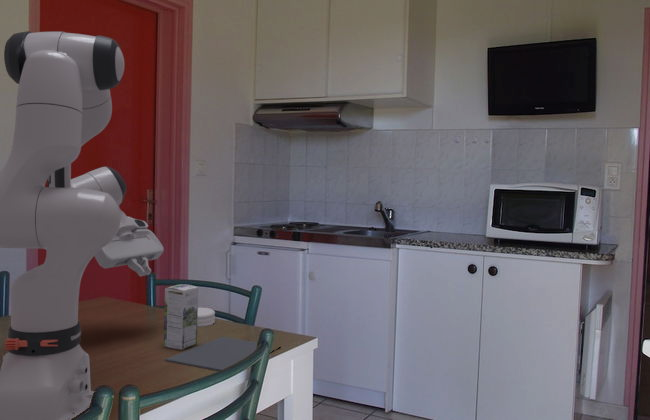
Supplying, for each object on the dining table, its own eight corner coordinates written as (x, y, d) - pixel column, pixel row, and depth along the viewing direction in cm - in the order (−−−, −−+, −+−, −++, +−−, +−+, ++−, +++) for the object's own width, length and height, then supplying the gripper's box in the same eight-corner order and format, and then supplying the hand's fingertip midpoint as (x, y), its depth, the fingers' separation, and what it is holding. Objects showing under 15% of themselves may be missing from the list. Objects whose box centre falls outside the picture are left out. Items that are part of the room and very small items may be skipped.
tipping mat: (165, 360, 142) (165, 359, 142) (222, 338, 162) (222, 336, 162) (229, 373, 135) (229, 371, 135) (281, 347, 155) (281, 346, 155)
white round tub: (175, 320, 180) (175, 308, 180) (211, 318, 184) (211, 306, 184) (181, 329, 171) (181, 316, 171) (218, 326, 175) (218, 313, 174)
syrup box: (178, 341, 158) (179, 283, 157) (198, 345, 156) (198, 285, 155) (163, 347, 153) (163, 287, 152) (183, 350, 151) (183, 289, 150)
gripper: (91, 227, 151) (122, 272, 148) (149, 220, 169) (179, 260, 166) (77, 244, 153) (108, 289, 150) (136, 236, 172) (165, 276, 168)
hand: (146, 274), depth 158 cm, fingers closed
